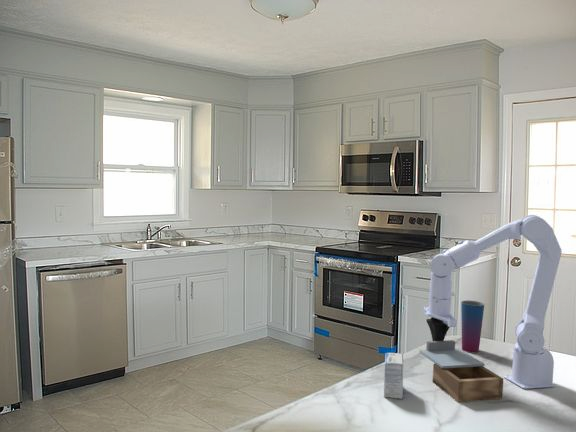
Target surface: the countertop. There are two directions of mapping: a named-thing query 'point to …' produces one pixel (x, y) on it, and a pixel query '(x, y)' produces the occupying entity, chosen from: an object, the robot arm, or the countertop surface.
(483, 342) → the countertop surface
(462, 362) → the lid
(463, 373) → the walnut box
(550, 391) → the countertop surface
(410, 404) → the countertop surface
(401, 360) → the medicine box
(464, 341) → the cup
